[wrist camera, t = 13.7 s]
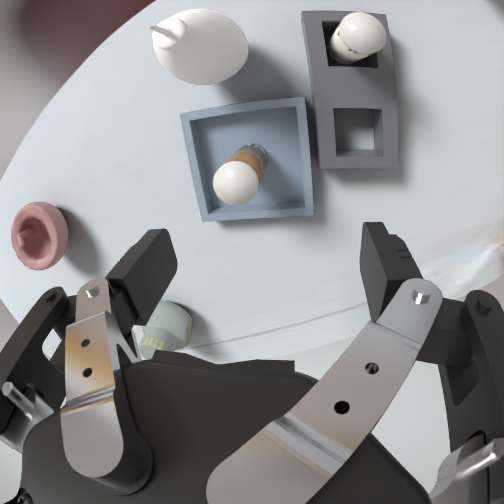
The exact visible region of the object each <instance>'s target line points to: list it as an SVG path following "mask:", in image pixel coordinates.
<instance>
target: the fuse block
mask: <svg viewBox="0 0 504 504" xmlns="http://www.w3.org/2000/svg"><path fill="white" fill-rule="evenodd" d="M350 13H354V12H353V11H302V14H301V23H302V28H303V34H304V40H305V46H306V53H307V60H308V67H309V74H310V82H311V90H312V99H313V108H314V118H315V129H316V141H317V155H318V163H319V166H320V169H340V168H396V169H398V109H397V93H396V81H395V71H394V62H393V54H392V47H391V41H390V35H389V29H388V24H387V19H386V15H384V14H376V13H367V14H369V15H371V16H373V17H375V18H376V19H377V20H378V21H380V23H381V24H382V25H383V27H384V29H385V31H386V43H385V45H384V47H383V48H382V49H380V50H379V51H377V52H375V53H373V54H371V55H369V56H368V64H369V67H338V66H331V67H328V60H327V53H326V47H325V40H324V34H323V29H337V28H338V26H339V24H340V23H341V21H342V20H343V18H344V17H345V16H347V15H348V14H350ZM363 13H366V12H363ZM333 108H371V109H373V123H374V150H336V141H335V127H334V114H333Z"/></svg>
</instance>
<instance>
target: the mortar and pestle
mask: <svg viewBox="0 0 504 504" xmlns="http://www.w3.org/2000/svg"><path fill="white" fill-rule="evenodd" d="M68 236H69V234H68V226H67V223H66V220H65V218H64V216H63V215H62V213H61V212H60V211H59V210H58V209H57V208H56V207H55V206H53V205H52V204H49V203H46V202H33V203H30V204H28V205H26V206H24V207H23V208H22V209H21V210H20V211H19V212H18V213H17V215H16V217H15V219H14V222H13V225H12V230H11V240H12V245H13V248H14V250H15V252H16V255H17V257H18V259H19V260H20V261H21V262H22V263H23V264H24V265H25V266H27V267H28V268H30V269H33V270H44V269H47V268H50V267H52V266H53V265H55V264H56V263H57V262H58V261H59V260H60V259H61V257H62V256H63V254H64V252H65V250H66V247H67V244H68Z"/></svg>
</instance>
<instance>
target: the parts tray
mask: <svg viewBox="0 0 504 504" xmlns="http://www.w3.org/2000/svg"><path fill="white" fill-rule="evenodd" d="M180 117H181V123H182V128H183V133H184V138H185V144H186V149H187V153H188V158H189V163H190V168H191V173H192V177H193V182H194V187H195V191H196V196H197V200H198V205H199V209H200V214H201V218H202V222H210V221H224V220H239V219H255V218H273V217H292V216H314V211H313V191H312V174H311V160H310V147H309V136H308V125H307V115H306V106H305V97H296V98H282V99H271V100H262V101H253V102H245V103H238V104H231V105H225V106H219V107H213V108H208V109H203V110H198V111H193V112H188V113H184V114H180ZM247 143H256V144H258V145H260V146H262V147H263V148H264V149H265V150H266V152H267V154H268V164H267V167H266V169H265V172H264V174H263V177H262V179H261V182H260V184H259V187H258V190H257V192H256V194H255V196H254V198H253V199H252V200H251V201H250V202H248V203H246V204H244V205H239V206H234V205H229V204H227V203H225V202H223V201H222V200H221V199H220V198H219V197H218V196H217V195H216V193H215V191H214V188H213V178H214V175H215V173H216V172H217V170H218V169H219V168H220V167H221V166H222V165H223V164H224V163H225V162H226V161H227V160H228V159H229V158H230V157H231V156H232V155H233V154H234V153H235V152H236V151H237V150H238V149H239V148H240V147H241V146H243V145H244V144H247Z"/></svg>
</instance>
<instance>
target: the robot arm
mask: <svg viewBox="0 0 504 504" xmlns="http://www.w3.org/2000/svg"><path fill="white" fill-rule="evenodd" d="M176 271H177V258H176V255H175V252H174V248H173V245H172V242H171V238H170V235H169V232H168V231H167V229H151V230H148V231H147V232H146V234H145V235H144V236H143V237H142V238H141V239H140V240H139V241H138V243H136V244H135V245H133V246H132V247H131V248H130V249H129V250H128V251H127V252H126V253H125V256H123V257H122V258H121V259H120V262H118V263H117V264H116V265H115V266H114V267H113V269H112V270H111V271H110V272H109V273H108V275H107V276H106V277H105V278H97V279H93V280H91V281H89V282H87V283H86V284H84V285H83V286H82V287H81V288H80V289H79V291H78V293H77V295H74V296H69V297H67V295H66V293H65V291H64V290H63V288H62V287H54V288H52V289H50V290H48V291H46V292H45V293H44V294H43V295H42V296H41V297H40V299H39V300H38V301H37V302H36V304H35V305H34V306H33V307H32V309H31V310H30V311H29V313H28V314H27V315H26V317H25V318H24V319H23V321H22V322H21V323H20V325H19V326H18V328H17V329H16V330H15V332H14V333H13V335H12V336H11V337H10V339H9V340H8V342H7V343H6V345H5V346H4V348H3V349H2V351H1V353H0V440H1V441H2V442H4V443H5V444H6V445H8V446H9V447H11V448H12V449H15V450H17V451H18V452H20V453H22V474H21V483H20V488H19V491H18V493H17V495H16V496H15V497H14V498H13V499H12V500H10V501H9V502H6V503H4V504H504V311H503V309H502V307H501V305H500V304H499V302H498V301H497V299H496V298H495V297H494V296H492V295H491V294H489V293H487V292H485V291H482V290H473V291H471V292H469V293H468V294H467V296H466V299H465V301H464V302H461V301H456V300H451V299H447V298H443V296H442V292H441V291H440V289H439V288H438V287H437V286H436V285H435V284H434V283H432V282H430V281H428V280H425V279H423V277H422V275H421V273H420V271H419V269H418V267H417V265H416V263H415V261H414V259H413V258H412V255H411V253H410V251H409V249H408V248H407V246H406V244H405V242H404V241H403V240H402V239H400V238H399V237H398V236H397V235H389V233H388V231H387V229H386V227H385V225H384V224H383V222H364V223H363V228H362V240H361V251H360V272H361V276H362V280H363V284H364V288H365V293H366V297H367V302H368V306H369V311H370V315H371V321H369V322H368V323H367V324H366V326H365V327H364V328H363V329H362V331H361V332H360V333H359V334H358V336H357V337H356V338H355V339H354V341H353V342H352V343H351V344H350V346H349V347H348V348H347V349H346V351H345V352H344V353H343V354H342V355H341V356H340V358H339V359H338V360H337V361H336V362H335V363H334V364H333V366H332V367H331V368H330V369H329V370H328V371H327V372H326V373H325V375H324V376H323V377H322V378H321V379H320V380H317V379H315V378H313V377H311V376H308V375H305V374H303V373H299V372H295V363H294V362H295V361H289V360H284V361H283V360H259V359H256V360H250V361H243V362H236V363H228V364H214V363H211V362H208V361H205V360H202V359H199V358H197V357H194V356H191V355H189V354H186V353H179V352H172V351H164V350H158V349H156V350H155V352H154V354H153V357H152V359H148V360H142V359H141V355H140V352H139V348H138V344H137V340H136V336H135V333H134V331H133V329H132V327H133V325H140V326H146V325H147V323H148V321H149V319H150V317H151V316H152V314H153V312H154V310H155V309H156V307H157V305H158V303H159V301H160V300H161V298H162V296H163V294H164V293H165V291H166V289H167V287H168V286H169V284H170V282H171V281H172V279H173V277H174V275H175V274H176ZM52 328H53V329H54V330H55V332H56V333H57V335H58V336H59V337H60V339H61V340H62V341H61V343H60V344H59V346H58V348H57V349H56V351H55V353H54V354H53V356H52V358H51V359H50V361H49V360H48V359H47V358H46V357H45V355H44V354H43V351H42V345H43V342H44V340H45V339H46V337H47V336H48V334H49V333H50V331H51V330H52ZM416 360H417V361H422V362H427V363H433V364H438V368H439V373H440V378H441V383H442V388H443V394H444V400H445V406H446V411H447V412H446V413H447V420H448V428H449V439H450V451H451V454H449V455H448V456H447V457H446V458H445V459H444V461H443V462H442V463H441V465H440V467H439V470H438V476H437V481H436V484H435V486H434V488H433V490H432V491H431V493H430V494H429V495H428V493H427V491H426V490H425V489H424V487H423V486H422V485H421V484H420V483H419V482H418V481H417V480H416V479H415V478H414V477H413V476H412V475H411V474H410V473H409V472H408V471H407V470H406V469H405V468H404V467H403V466H402V465H401V464H400V463H399V462H398V461H397V460H396V459H395V458H394V457H393V455H392V454H391V453H390V452H388V450H387V449H386V448H385V447H384V446H383V445H382V444H381V443H380V442H379V441H378V440H377V439H376V438H375V436H374V435H373V434H372V433H371V431H372V430H373V429H374V427H375V426H376V425H377V423H378V422H379V420H380V419H381V417H382V416H383V414H384V413H385V411H386V410H387V408H388V407H389V405H390V404H391V402H392V400H393V399H394V397H395V396H396V394H397V392H398V391H399V389H400V387H401V386H402V384H403V382H404V381H405V379H406V377H407V375H408V373H409V372H410V370H411V368H412V366H413V365H414V363H415V361H416ZM65 396H66V404H65V405H64V406H63V407H62V408H61V409H60V407H61V405H62V402H63V400H64V398H65Z"/></svg>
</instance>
